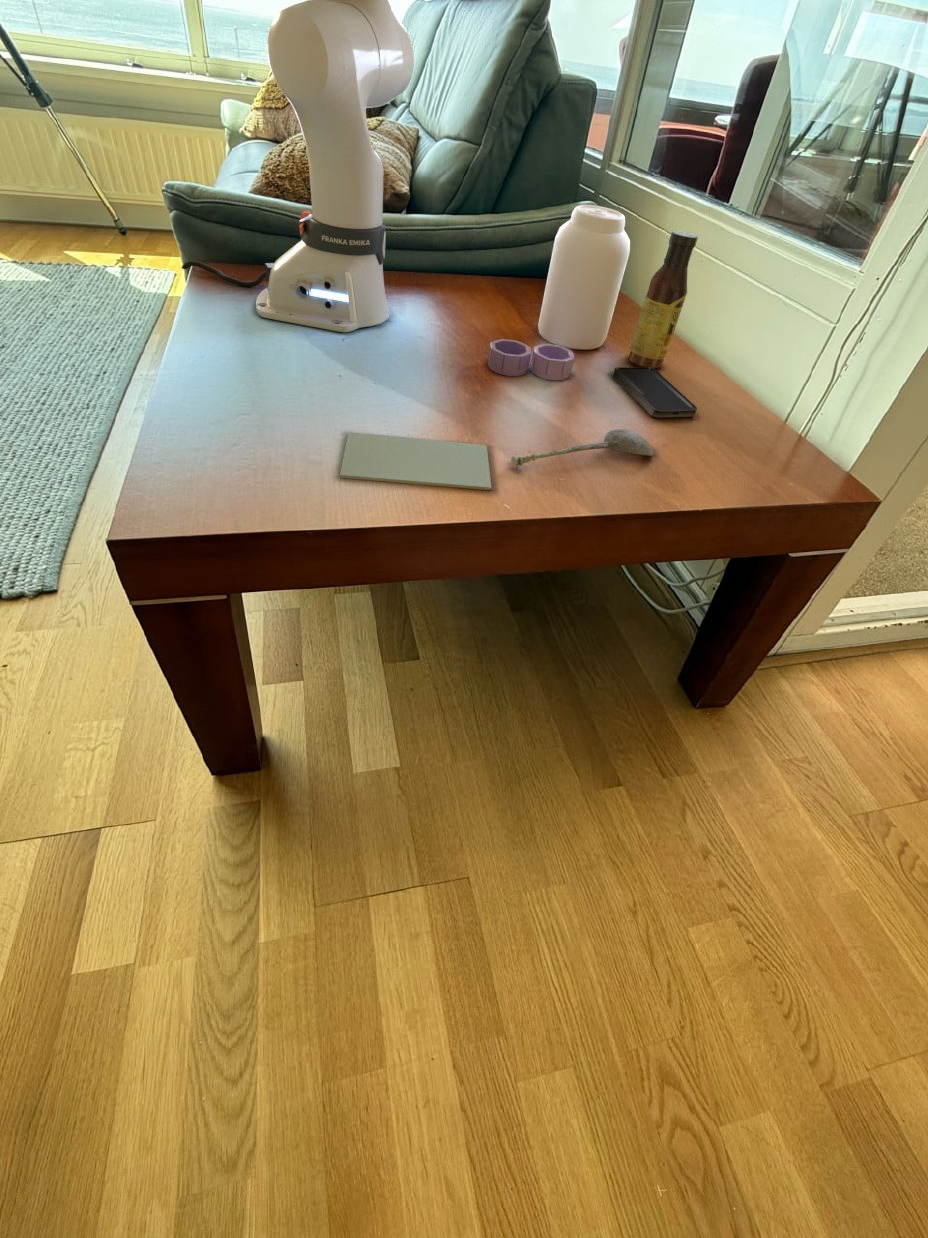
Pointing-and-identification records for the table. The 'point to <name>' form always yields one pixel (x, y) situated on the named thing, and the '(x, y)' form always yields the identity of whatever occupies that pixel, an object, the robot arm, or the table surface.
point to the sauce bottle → (663, 303)
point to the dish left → (509, 357)
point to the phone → (654, 392)
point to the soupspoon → (600, 446)
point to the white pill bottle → (584, 278)
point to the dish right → (552, 362)
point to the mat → (416, 461)
